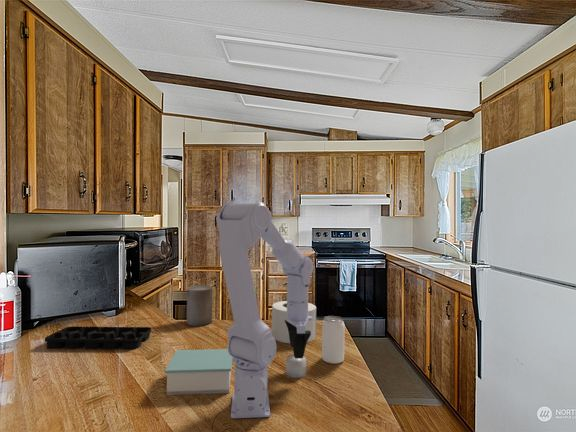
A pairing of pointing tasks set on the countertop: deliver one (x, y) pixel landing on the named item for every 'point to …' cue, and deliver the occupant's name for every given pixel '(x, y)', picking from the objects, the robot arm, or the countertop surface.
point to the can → (333, 339)
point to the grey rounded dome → (295, 367)
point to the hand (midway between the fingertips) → (296, 351)
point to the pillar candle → (199, 305)
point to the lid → (200, 361)
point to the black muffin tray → (98, 337)
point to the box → (198, 383)
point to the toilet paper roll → (280, 326)
